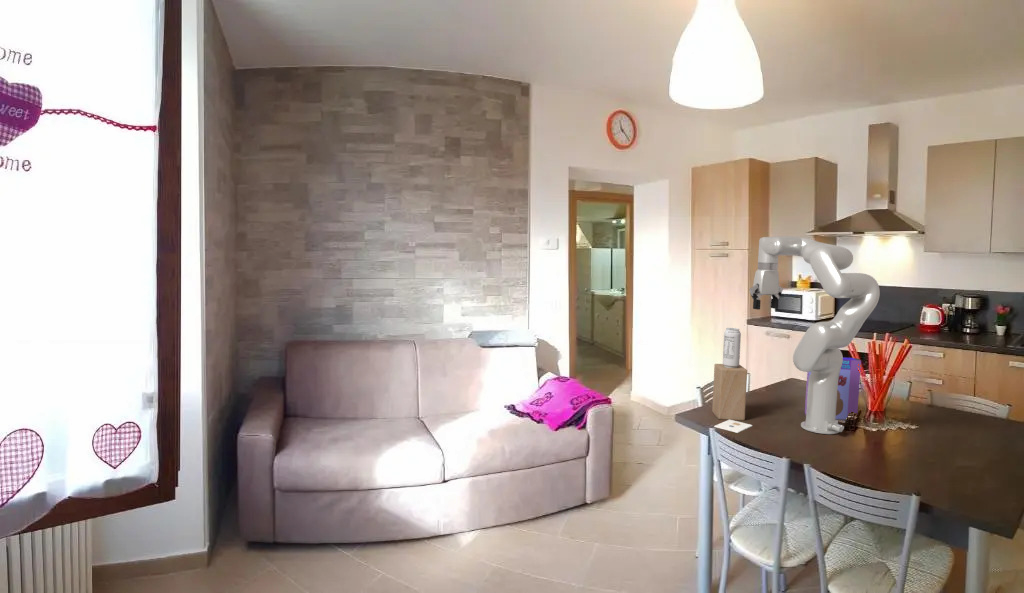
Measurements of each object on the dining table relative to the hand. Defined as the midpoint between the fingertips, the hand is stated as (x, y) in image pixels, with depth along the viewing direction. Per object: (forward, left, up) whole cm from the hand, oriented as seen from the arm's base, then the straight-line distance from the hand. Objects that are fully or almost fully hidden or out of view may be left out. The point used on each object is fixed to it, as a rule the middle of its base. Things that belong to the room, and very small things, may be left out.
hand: (765, 308), depth 235 cm
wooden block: (-6, +23, -42) cm, 48 cm away
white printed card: (-16, +30, -41) cm, 53 cm away
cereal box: (-21, -15, -42) cm, 49 cm away
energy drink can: (-6, +23, -22) cm, 32 cm away
